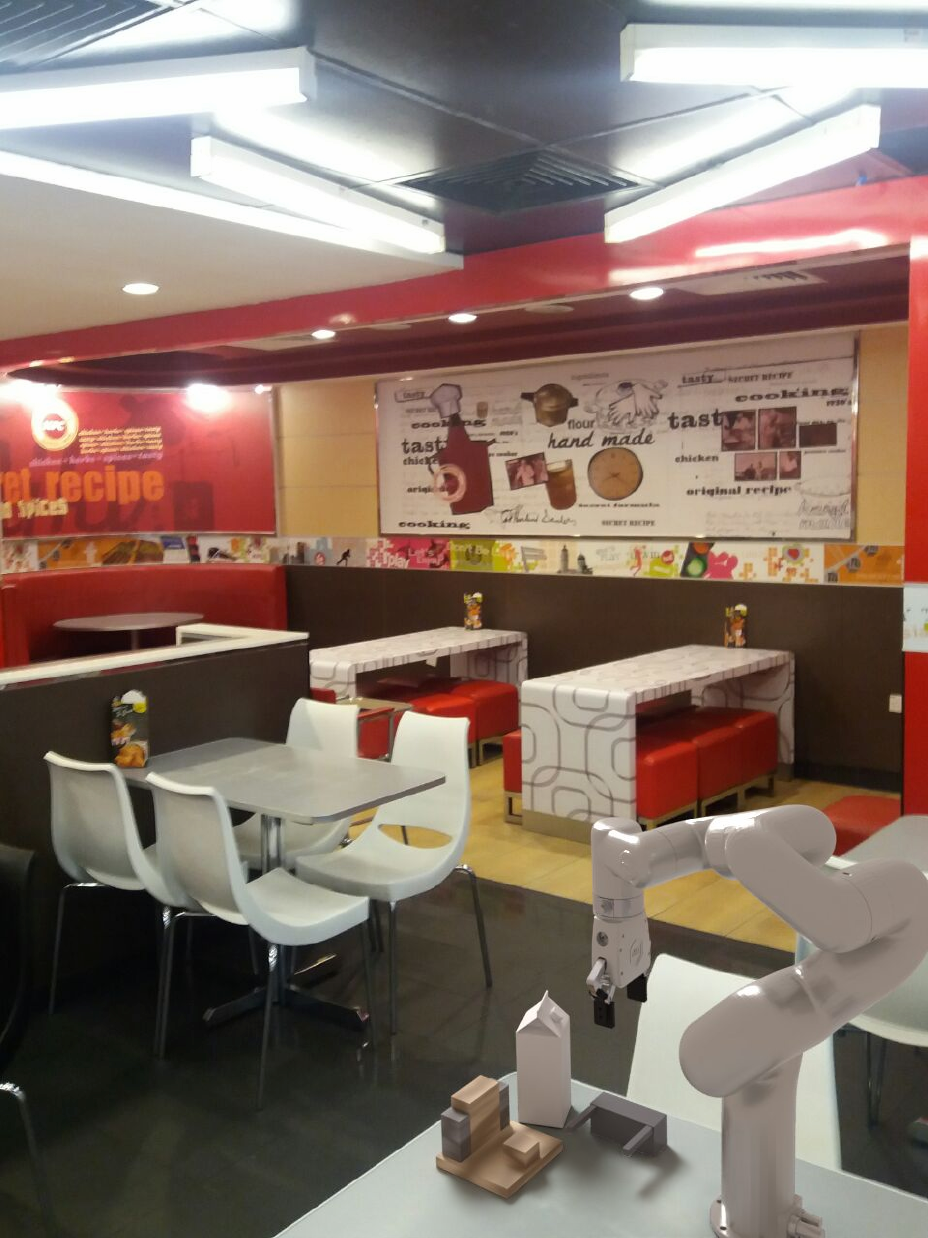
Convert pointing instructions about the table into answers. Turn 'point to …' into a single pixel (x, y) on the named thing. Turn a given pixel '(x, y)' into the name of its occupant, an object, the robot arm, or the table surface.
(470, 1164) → the stacked wooden blocks
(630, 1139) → the grey bracket
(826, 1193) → the table surface
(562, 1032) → the milk carton
